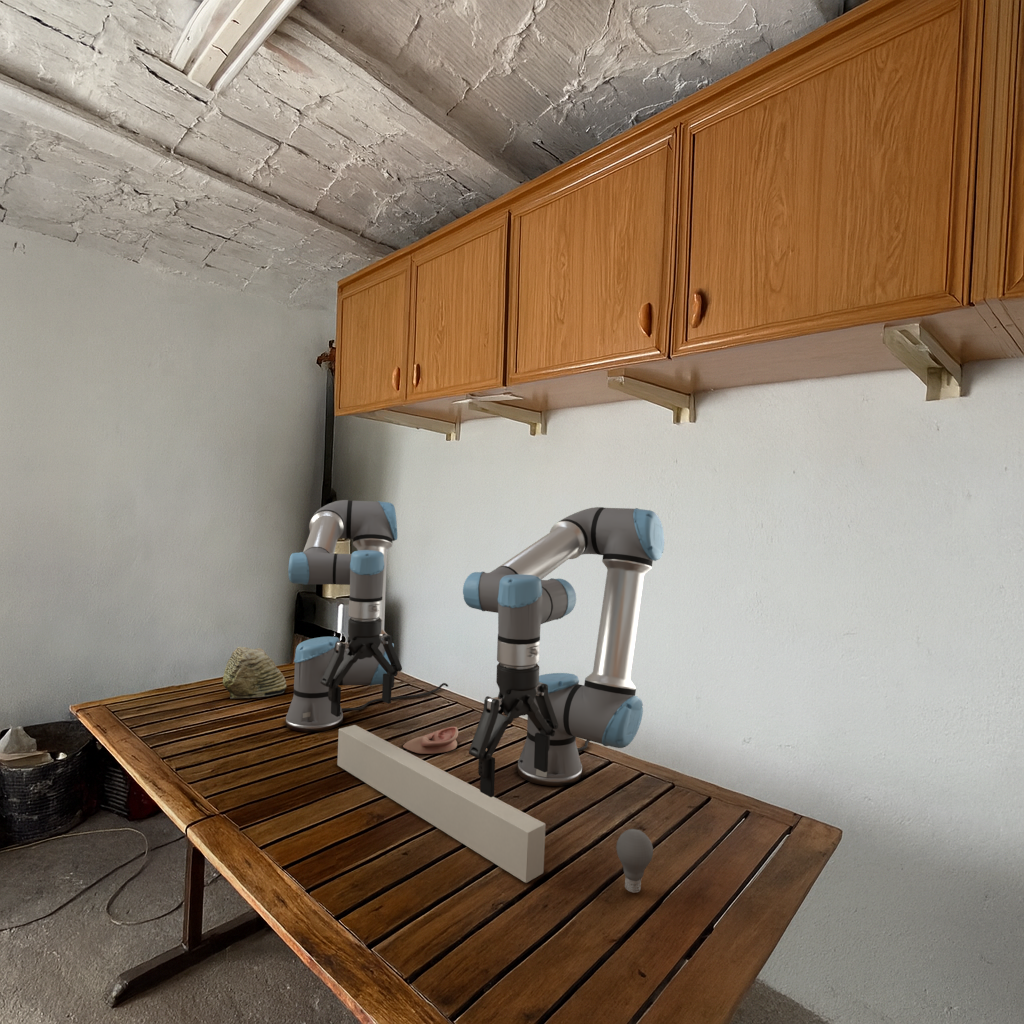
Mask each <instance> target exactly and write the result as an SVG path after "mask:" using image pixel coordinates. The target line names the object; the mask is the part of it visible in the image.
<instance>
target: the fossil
mask: <svg viewBox="0 0 1024 1024" xmlns="http://www.w3.org/2000/svg"><path fill="white" fill-rule="evenodd" d="M222 676H223V677H222V685H223V687H224V688H225V690H226V691H228V693H229V698H230V699H250V698H264V697H271V696H275V695H281V694H284V693H285V691H286V689H287V687H288V686H287V680H286V678H285V676H284V674H283V673H282V672H281V669H279V668H278V667H277V665H276V663H275V662H274V660H273V659H272V658H271V657H270V656H269V655H268V654H267V653H266V652H265V650H264V649H263V648H260V647H258V648H251V647H247V646H246V647H245V646H238V647H237V648H236V649H235V650H233V651H232V653H231V656H230V657H229V659H228V660H227V663H226V666H225V668H224V671H223V675H222Z"/></svg>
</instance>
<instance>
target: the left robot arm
mask: <svg viewBox="0 0 1024 1024" xmlns="http://www.w3.org/2000/svg"><path fill="white" fill-rule="evenodd" d="M397 521H398V520H397V513H396V508H395V505H394V504H393V503H392V502H390V501H388V502H387V501H381V500H377V501H375V500H349V499H340V500H335V501H332V502H330V503H327V504H325V505H323V506H321V507H320V508H319V509H317V510H316V511H315V512H314V514H313V515H312V517H311V518H310V521H309V525H308V528H309V534H308V537H307V539H306V543H305V546H304V548H303V550H302V551H300V552H292V553H291V554H290V556H289V559H288V571H287V572H288V580H289V582H290V583H292V584H297V585H298V584H299V585H304V586H307V585H335V586H336V585H343V586H344V585H346V586H349V597H348V598H349V599H348V617H349V619H348V622H347V635H348V636H347V641H344V642H343V641H341V640H340V638H339V637H337V636H320V637H314V638H310V639H306V640H303V641H302V642H299V643H298V645H296V648H295V655H294V660H293V663H294V674H293V675H294V680H293V695H292V696H293V697H292V699H291V702H290V704H289V708H288V711H287V713H286V715H285V726H286V728H287V729H289V730H291V731H294V732H295V731H296V732H301V733H316V732H325V731H329V730H332V729H335V728H337V727H339V726H340V725H342V723H343V722H344V714H343V712H346V711H349V712H350V711H360V710H363V709H365V708H366V707H367V706H368V705H370V704H372V703H377V702H384V703H386V704H391V703H392V701H394V700H402V699H412V698H420V697H424V696H427V695H430V694H433V693H435V692H438V691H439V690H440V689H441V688H442V687H443V686H445V687H449V684H447V683H446V682H443V683H441V684H440V685H438V687H436V688H434V689H432V690H429V691H427V692H423V693H417V694H412V695H411V694H410V695H401V696H392V689H394V687H395V677H397V676H398V672H401V671H402V670H403V667H402V665H401V662H400V659H399V656H398V655H397V652H396V650H395V643H393V636H392V635H390V634H388V633H387V632H386V631H385V615H386V614H385V613H386V593H387V592H386V589H387V561H388V557H387V556H388V550H390V549H391V548H392V547H393V542H394V541H397V540H398V522H397ZM339 539H347V540H352V546H353V547H354V548H356V550H355V551H353V552H352V553H335V552H336V548H337V545H338V540H339ZM377 685H379V686H381V685H382V688H381V689H382V690H381V698H375V699H370V700H369V701H367V702H366V703H364V704H363V705H361V706H359V707H343V708H342V706H341V700H342V698H341V697H342V687H341V686H370V687H372V686H377Z"/></svg>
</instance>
